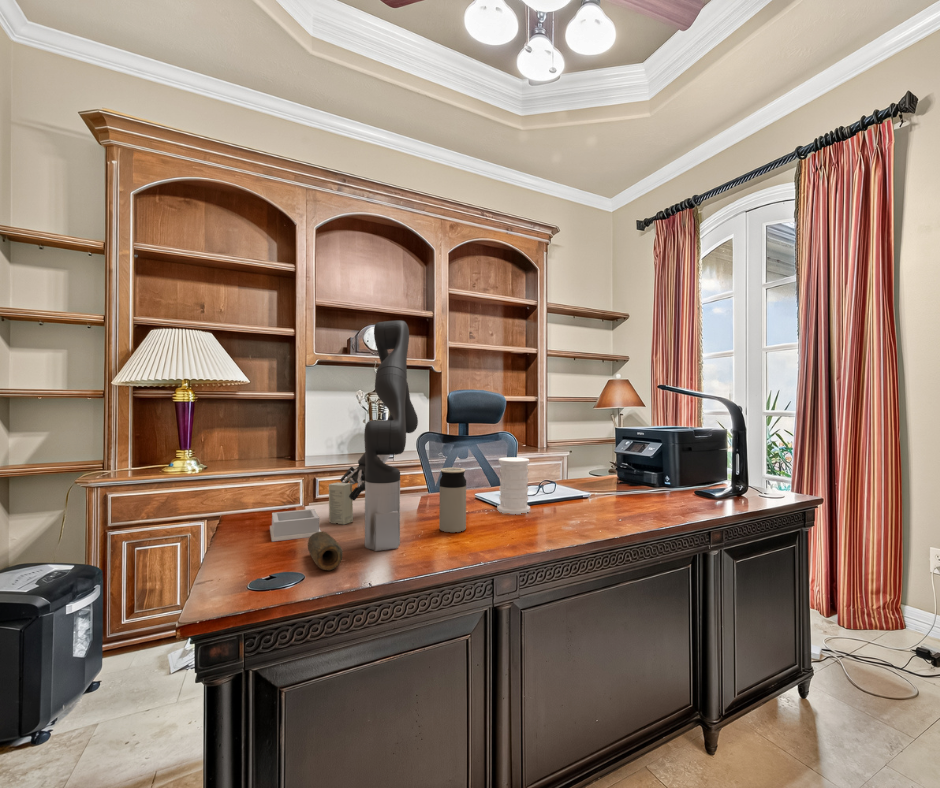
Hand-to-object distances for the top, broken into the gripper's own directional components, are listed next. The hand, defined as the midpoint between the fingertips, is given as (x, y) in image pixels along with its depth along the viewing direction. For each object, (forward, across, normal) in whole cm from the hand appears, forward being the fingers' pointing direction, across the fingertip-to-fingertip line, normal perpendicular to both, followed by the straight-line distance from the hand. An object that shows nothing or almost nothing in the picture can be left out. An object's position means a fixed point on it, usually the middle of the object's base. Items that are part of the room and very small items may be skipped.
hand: (344, 496), depth 147 cm
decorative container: (-30, +28, +41) cm, 58 cm away
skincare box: (+7, 0, +5) cm, 8 cm away
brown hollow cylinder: (+22, +30, -10) cm, 38 cm away
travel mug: (-8, +31, +19) cm, 37 cm away
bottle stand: (+17, +1, -6) cm, 18 cm away
